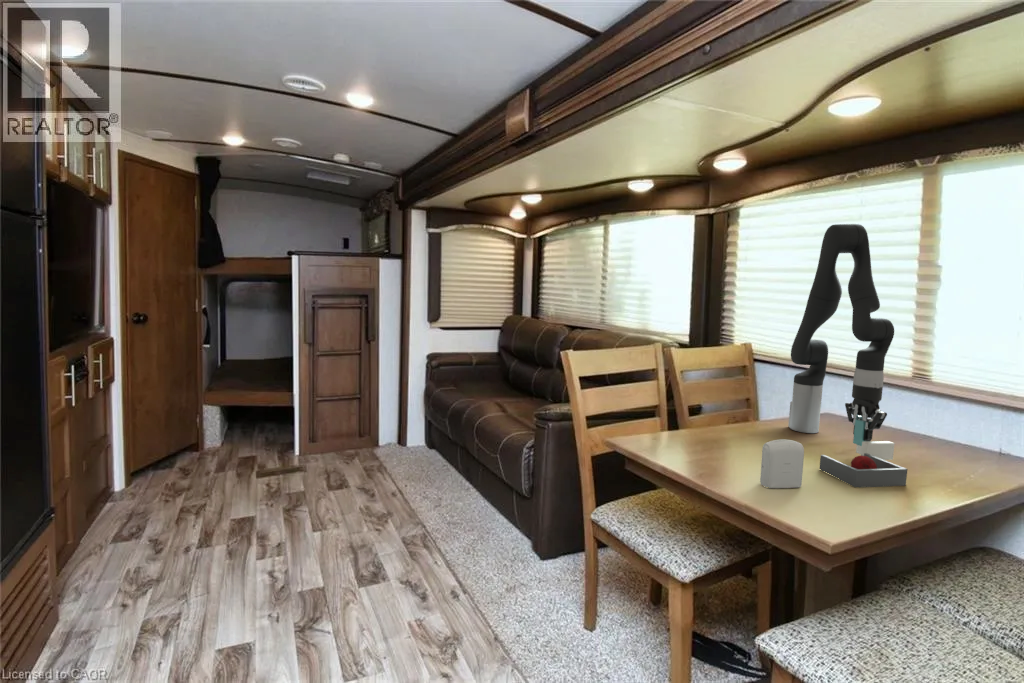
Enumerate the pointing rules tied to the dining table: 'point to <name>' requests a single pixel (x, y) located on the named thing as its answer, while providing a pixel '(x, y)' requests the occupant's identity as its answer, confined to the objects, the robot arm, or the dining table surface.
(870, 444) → the teal-handled white slab
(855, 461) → the onion
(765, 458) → the photo printer
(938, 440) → the dining table surface
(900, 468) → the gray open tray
